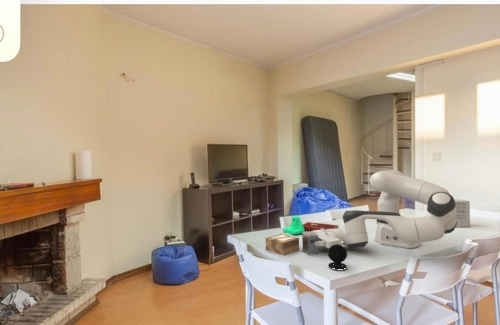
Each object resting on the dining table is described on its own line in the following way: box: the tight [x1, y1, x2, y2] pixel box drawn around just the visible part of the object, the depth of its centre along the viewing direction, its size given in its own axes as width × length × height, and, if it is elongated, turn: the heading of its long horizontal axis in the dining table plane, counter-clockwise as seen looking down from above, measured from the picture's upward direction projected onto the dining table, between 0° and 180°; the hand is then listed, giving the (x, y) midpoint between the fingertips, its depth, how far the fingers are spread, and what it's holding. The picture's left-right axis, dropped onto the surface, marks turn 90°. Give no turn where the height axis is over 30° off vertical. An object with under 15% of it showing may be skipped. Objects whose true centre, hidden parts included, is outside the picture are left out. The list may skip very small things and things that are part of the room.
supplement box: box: [454, 198, 471, 228], centre depth 199 cm, size 10×9×17 cm
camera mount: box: [282, 215, 305, 235], centre depth 187 cm, size 12×8×10 cm, turn 33°
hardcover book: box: [302, 221, 340, 232], centre depth 191 cm, size 12×21×4 cm, turn 57°
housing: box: [301, 231, 319, 256], centre depth 148 cm, size 6×6×10 cm
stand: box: [265, 233, 300, 256], centre depth 154 cm, size 12×12×6 cm
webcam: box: [327, 244, 348, 269], centre depth 128 cm, size 8×8×10 cm
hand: (309, 241), depth 148 cm, fingers open, 8 cm apart
